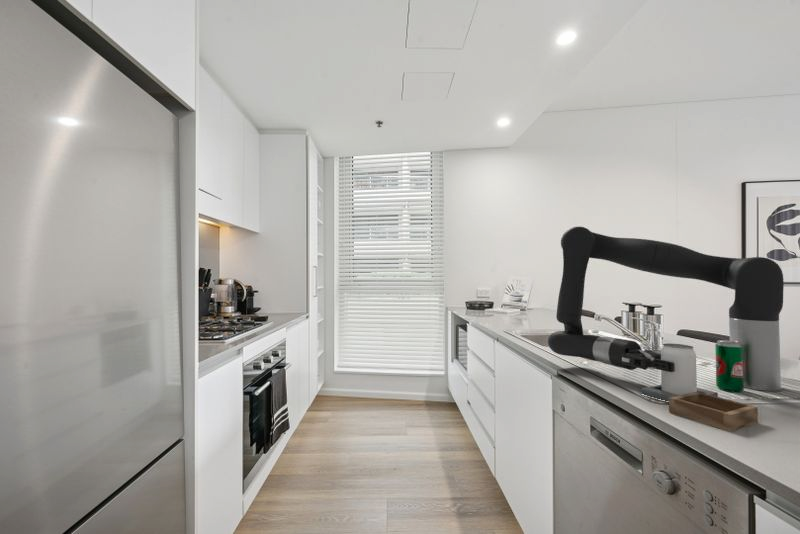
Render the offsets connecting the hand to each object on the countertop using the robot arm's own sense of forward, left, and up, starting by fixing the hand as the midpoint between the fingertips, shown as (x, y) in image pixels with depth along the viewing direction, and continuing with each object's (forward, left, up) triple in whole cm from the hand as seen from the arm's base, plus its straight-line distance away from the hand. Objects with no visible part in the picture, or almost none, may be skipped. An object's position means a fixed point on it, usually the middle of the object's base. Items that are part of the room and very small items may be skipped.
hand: (684, 365), depth 81 cm
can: (0, -1, -8) cm, 8 cm away
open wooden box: (+7, +8, -8) cm, 14 cm away
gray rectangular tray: (0, -1, -8) cm, 8 cm away
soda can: (-19, 0, -8) cm, 20 cm away
